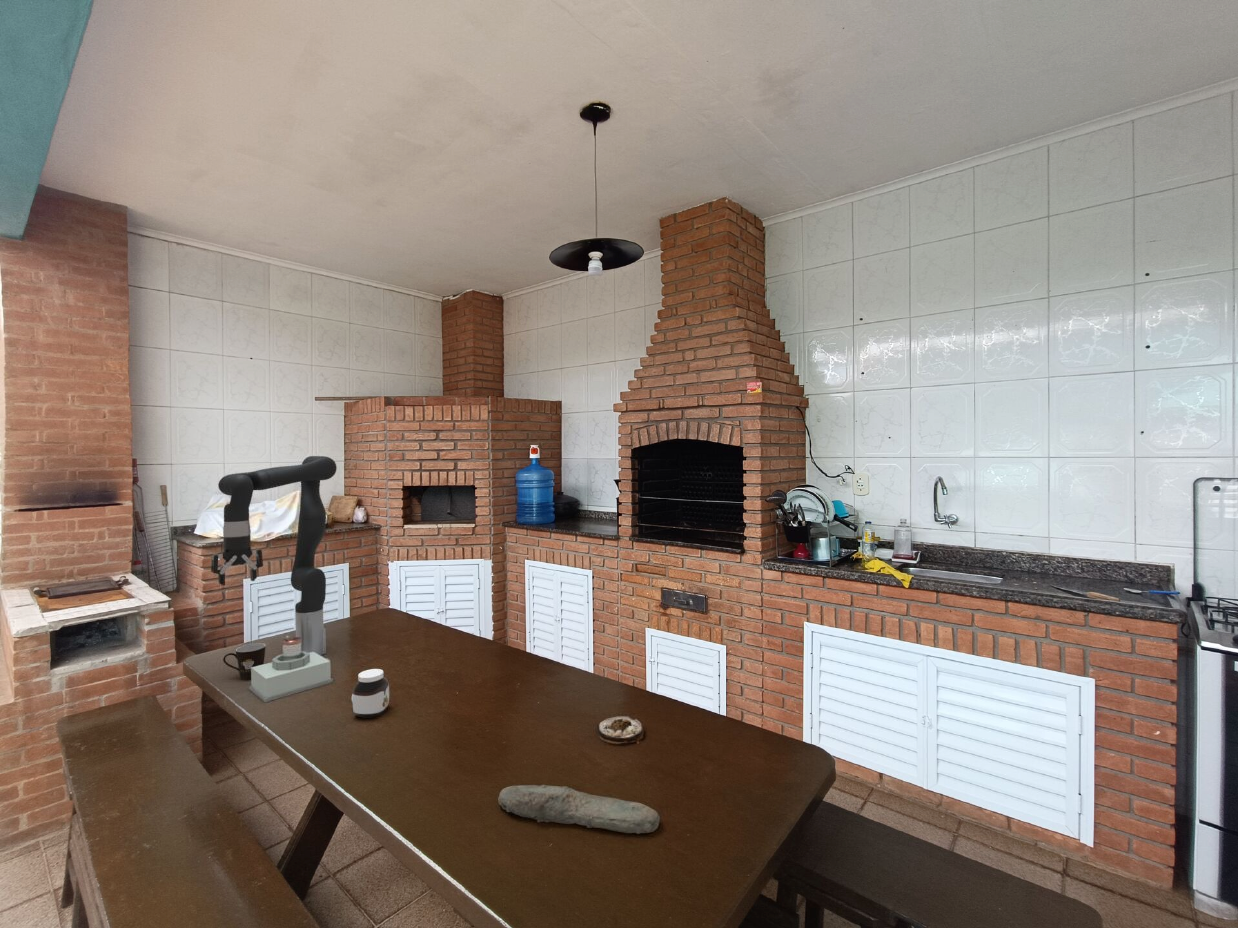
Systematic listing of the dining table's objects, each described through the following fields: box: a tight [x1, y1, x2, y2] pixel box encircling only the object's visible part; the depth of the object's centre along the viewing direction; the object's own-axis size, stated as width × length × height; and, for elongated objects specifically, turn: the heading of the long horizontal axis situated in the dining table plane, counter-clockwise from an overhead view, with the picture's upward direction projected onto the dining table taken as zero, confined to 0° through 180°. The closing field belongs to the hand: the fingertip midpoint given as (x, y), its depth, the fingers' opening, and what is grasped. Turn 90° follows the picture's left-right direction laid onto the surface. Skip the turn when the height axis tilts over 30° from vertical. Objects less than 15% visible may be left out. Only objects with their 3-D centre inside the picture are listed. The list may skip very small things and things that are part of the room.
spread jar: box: [351, 668, 390, 719], centre depth 168 cm, size 12×11×12 cm
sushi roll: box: [596, 715, 644, 746], centre depth 153 cm, size 15×15×4 cm
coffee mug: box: [222, 642, 267, 681], centre depth 194 cm, size 12×9×10 cm
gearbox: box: [248, 651, 334, 703], centre depth 187 cm, size 22×15×10 cm
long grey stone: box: [497, 784, 661, 835], centre depth 119 cm, size 35×5×10 cm
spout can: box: [282, 635, 301, 661], centre depth 187 cm, size 5×5×10 cm
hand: (238, 582), depth 189 cm, fingers open, 8 cm apart
